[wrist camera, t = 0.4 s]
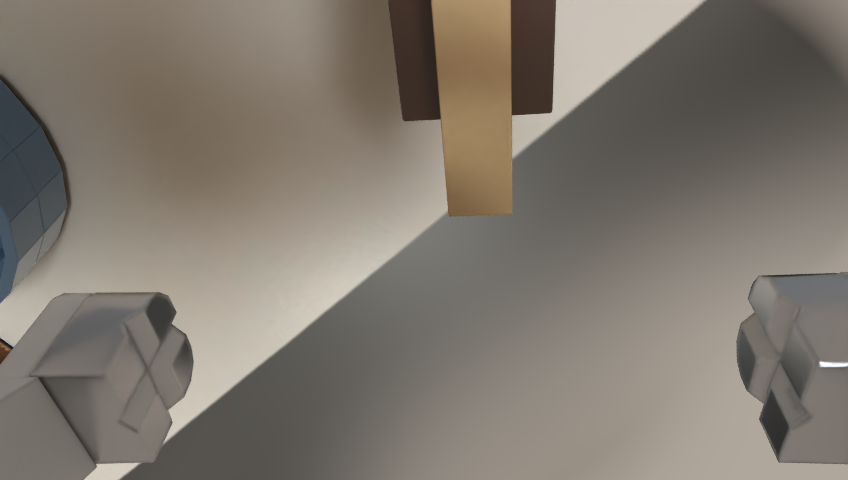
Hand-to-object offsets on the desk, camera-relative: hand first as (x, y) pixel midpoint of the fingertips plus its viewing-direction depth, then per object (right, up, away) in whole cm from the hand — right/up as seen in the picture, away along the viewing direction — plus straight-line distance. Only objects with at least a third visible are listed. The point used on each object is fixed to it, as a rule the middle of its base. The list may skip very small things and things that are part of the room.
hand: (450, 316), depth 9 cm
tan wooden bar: (+1, +8, +10) cm, 13 cm away
